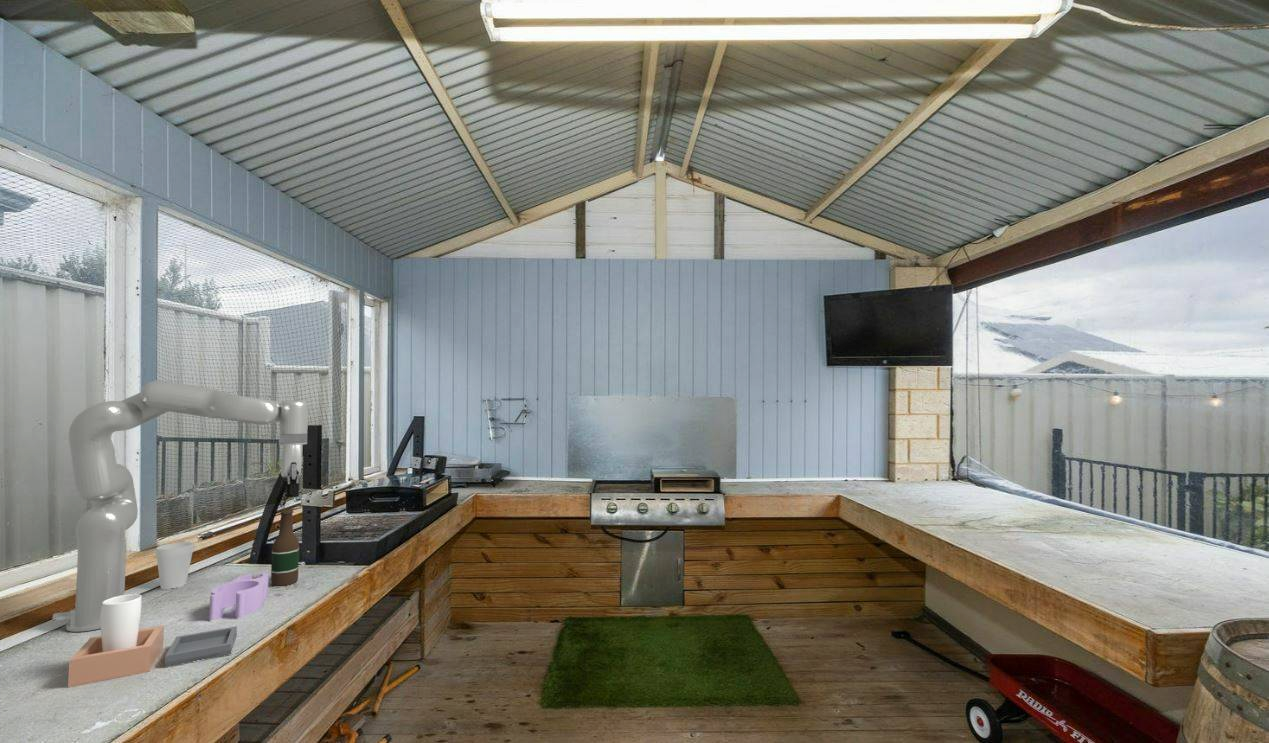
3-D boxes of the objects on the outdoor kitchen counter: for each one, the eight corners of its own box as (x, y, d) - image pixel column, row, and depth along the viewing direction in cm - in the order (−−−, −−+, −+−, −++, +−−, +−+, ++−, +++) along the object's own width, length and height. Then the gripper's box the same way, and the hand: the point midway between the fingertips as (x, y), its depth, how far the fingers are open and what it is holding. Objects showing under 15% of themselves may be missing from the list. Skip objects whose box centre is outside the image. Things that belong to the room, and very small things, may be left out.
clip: (233, 597, 168) (234, 574, 168) (279, 594, 171) (279, 571, 171) (198, 623, 148) (199, 597, 149) (250, 618, 151) (251, 593, 152)
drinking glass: (101, 677, 119) (104, 606, 119) (95, 668, 123) (98, 600, 124) (142, 665, 124) (145, 597, 125) (135, 657, 128) (138, 591, 129)
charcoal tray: (164, 667, 123) (165, 656, 123) (175, 647, 133) (176, 636, 133) (230, 654, 129) (231, 644, 129) (236, 636, 139) (236, 626, 139)
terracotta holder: (68, 687, 114) (69, 660, 115) (89, 662, 126) (90, 637, 126) (149, 671, 121) (150, 646, 121) (162, 648, 132) (163, 625, 133)
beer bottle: (295, 578, 185) (297, 506, 187) (301, 583, 180) (303, 509, 181) (268, 583, 180) (270, 509, 181) (273, 589, 174) (275, 513, 176)
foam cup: (196, 584, 179) (198, 544, 180) (161, 593, 171) (162, 551, 172) (185, 579, 184) (186, 540, 185) (149, 587, 176) (151, 546, 177)
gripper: (277, 438, 176) (275, 492, 175) (280, 441, 162) (278, 500, 161) (304, 437, 181) (303, 490, 180) (309, 440, 167) (307, 497, 166)
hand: (291, 494), depth 170 cm, fingers open, 9 cm apart
